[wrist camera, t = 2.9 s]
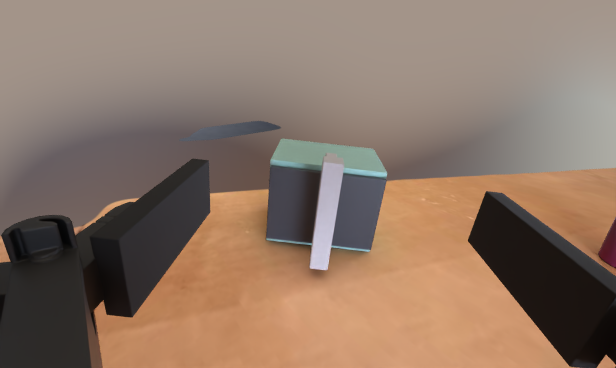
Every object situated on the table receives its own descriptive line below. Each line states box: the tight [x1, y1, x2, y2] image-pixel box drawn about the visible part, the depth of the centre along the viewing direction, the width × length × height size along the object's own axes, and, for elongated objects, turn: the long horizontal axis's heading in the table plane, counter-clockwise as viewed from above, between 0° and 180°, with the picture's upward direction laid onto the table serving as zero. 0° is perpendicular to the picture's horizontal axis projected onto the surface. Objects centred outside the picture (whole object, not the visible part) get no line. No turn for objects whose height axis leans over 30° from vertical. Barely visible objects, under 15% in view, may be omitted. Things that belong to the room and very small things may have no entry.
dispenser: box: [266, 139, 387, 252], centre depth 33 cm, size 8×11×9 cm
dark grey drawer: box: [266, 153, 386, 270], centre depth 30 cm, size 12×11×10 cm
